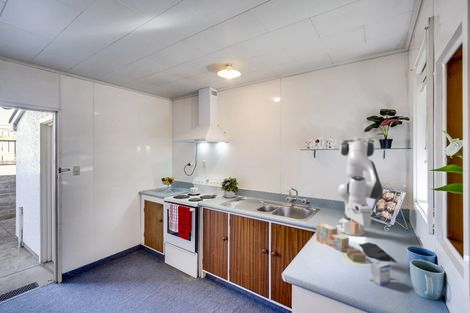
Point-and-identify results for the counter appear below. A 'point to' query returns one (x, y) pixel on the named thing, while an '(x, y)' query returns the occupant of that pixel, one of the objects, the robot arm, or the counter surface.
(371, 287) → the counter surface
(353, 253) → the base brick
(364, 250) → the dark slate chunk
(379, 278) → the medicine box
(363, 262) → the build plate
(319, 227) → the stack of blocks
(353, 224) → the top brick
